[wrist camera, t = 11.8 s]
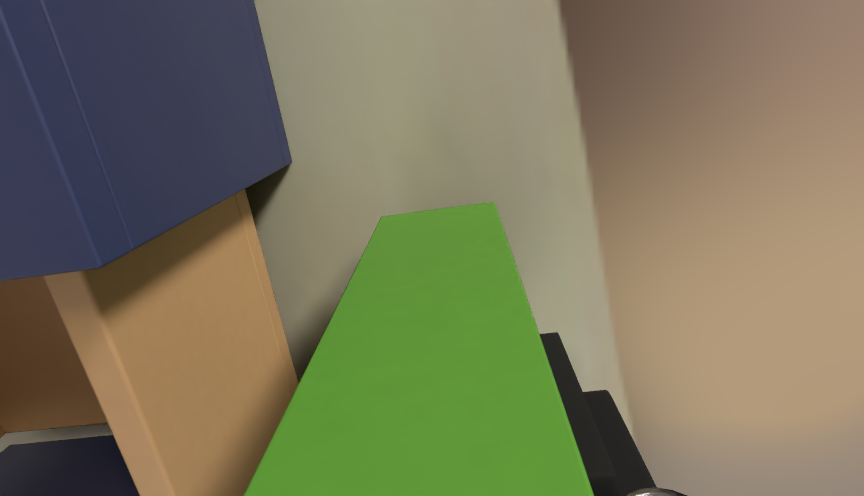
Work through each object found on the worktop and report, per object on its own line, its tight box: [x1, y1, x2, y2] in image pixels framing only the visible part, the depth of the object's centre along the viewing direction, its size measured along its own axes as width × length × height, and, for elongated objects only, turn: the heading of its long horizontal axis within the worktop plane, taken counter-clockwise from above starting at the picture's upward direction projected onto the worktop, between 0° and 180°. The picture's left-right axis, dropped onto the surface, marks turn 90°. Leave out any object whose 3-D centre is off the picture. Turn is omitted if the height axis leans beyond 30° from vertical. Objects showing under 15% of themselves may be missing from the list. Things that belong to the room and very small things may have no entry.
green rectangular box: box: [243, 202, 594, 496], centre depth 11 cm, size 4×6×11 cm, turn 8°
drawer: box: [0, 189, 298, 496], centre depth 15 cm, size 18×13×8 cm
